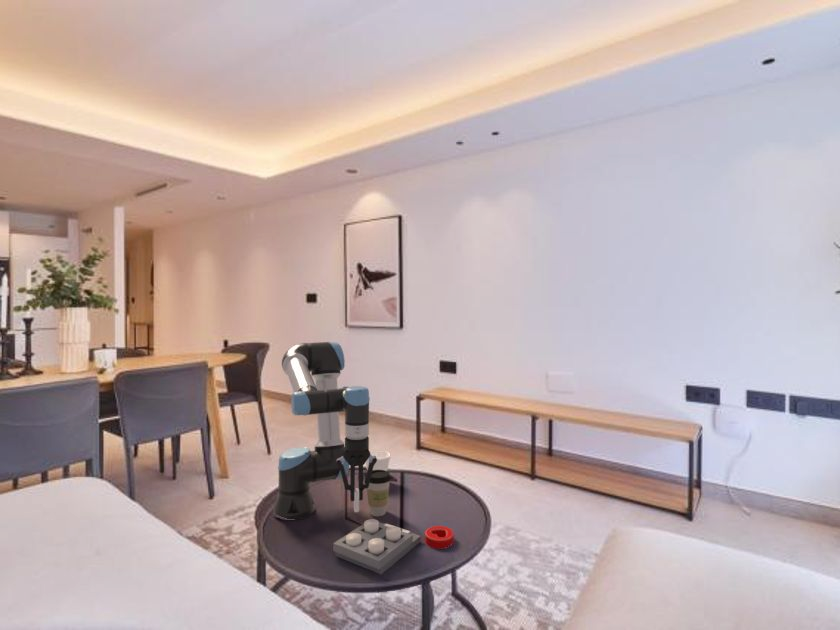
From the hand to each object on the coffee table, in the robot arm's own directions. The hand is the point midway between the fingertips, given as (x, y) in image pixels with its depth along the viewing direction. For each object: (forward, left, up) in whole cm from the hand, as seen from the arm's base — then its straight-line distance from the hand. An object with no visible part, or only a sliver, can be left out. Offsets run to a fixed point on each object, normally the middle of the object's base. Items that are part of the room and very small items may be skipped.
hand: (356, 510), depth 145 cm
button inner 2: (-1, +9, -11) cm, 14 cm away
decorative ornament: (+18, +22, -15) cm, 32 cm away
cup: (-30, +50, -15) cm, 60 cm away
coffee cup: (-12, +27, -15) cm, 33 cm away
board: (+4, +7, -14) cm, 17 cm away
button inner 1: (-1, 0, -12) cm, 12 cm away
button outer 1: (+8, 0, -11) cm, 14 cm away
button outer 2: (+8, +9, -11) cm, 16 cm away
